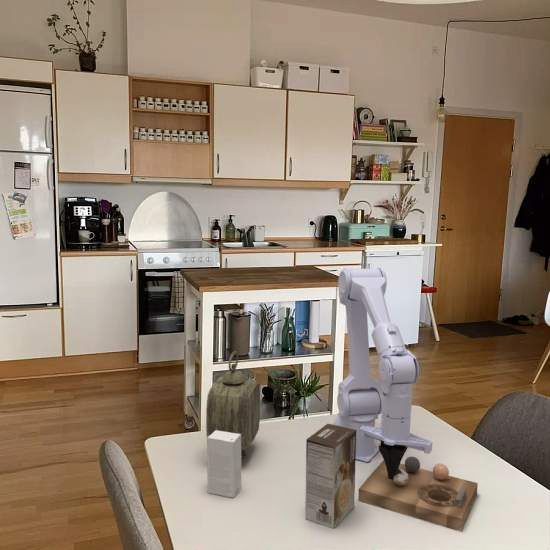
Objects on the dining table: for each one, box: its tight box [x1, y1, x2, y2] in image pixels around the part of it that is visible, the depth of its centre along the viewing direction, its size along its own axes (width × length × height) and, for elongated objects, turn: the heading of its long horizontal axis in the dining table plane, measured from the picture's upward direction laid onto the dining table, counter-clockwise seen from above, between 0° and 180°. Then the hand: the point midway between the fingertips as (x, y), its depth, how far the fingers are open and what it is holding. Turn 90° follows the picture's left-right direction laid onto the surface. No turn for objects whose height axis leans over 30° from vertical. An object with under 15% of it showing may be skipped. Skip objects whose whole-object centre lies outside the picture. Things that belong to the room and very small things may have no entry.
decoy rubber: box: [404, 456, 421, 472], centre depth 119 cm, size 3×3×3 cm
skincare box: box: [206, 430, 242, 498], centre depth 115 cm, size 6×4×12 cm
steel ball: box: [393, 469, 409, 486], centre depth 114 cm, size 3×3×3 cm
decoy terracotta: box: [432, 463, 450, 480], centre depth 116 cm, size 3×3×3 cm
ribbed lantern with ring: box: [205, 350, 261, 458], centre depth 129 cm, size 14×9×25 cm, turn 168°
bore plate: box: [357, 459, 479, 532], centre depth 114 cm, size 20×15×4 cm
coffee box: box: [304, 423, 357, 529], centre depth 107 cm, size 9×6×16 cm
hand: (393, 477), depth 114 cm, fingers closed, pressing on steel ball
